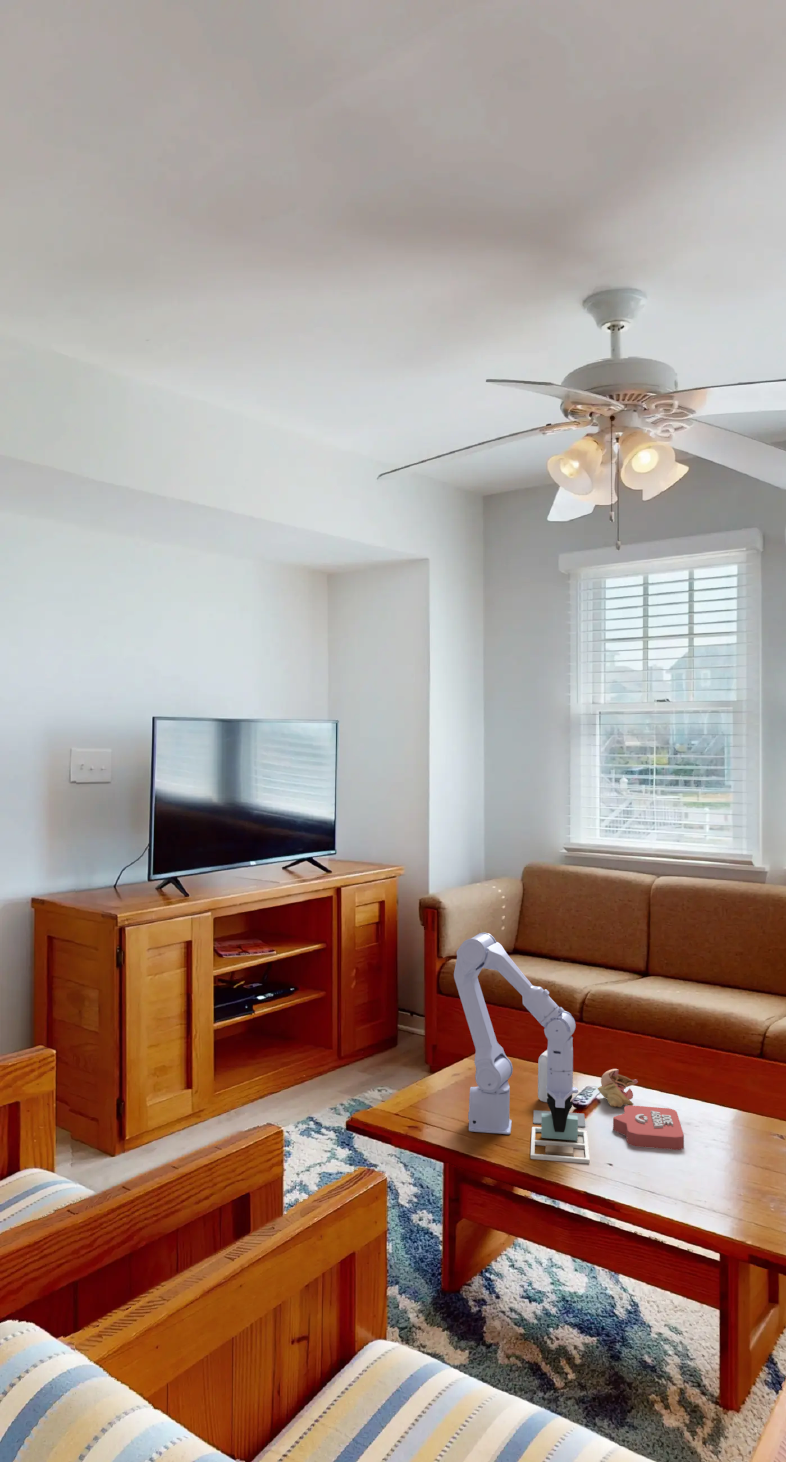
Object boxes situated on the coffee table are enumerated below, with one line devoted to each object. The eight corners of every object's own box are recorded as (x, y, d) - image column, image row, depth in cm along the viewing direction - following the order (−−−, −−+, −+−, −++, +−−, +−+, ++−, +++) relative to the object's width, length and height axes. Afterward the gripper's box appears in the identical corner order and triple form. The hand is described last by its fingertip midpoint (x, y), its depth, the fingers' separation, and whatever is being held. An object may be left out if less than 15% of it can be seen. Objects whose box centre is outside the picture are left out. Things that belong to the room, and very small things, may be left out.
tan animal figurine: (633, 1116, 232) (605, 1087, 232) (607, 1123, 239) (580, 1095, 240) (647, 1087, 238) (620, 1059, 238) (622, 1095, 245) (595, 1068, 246)
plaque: (611, 1101, 231) (676, 1106, 228) (611, 1117, 230) (675, 1122, 228) (615, 1129, 213) (684, 1135, 210) (614, 1147, 213) (684, 1153, 210)
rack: (530, 1158, 205) (530, 1155, 205) (532, 1130, 221) (532, 1126, 221) (589, 1163, 203) (589, 1159, 203) (586, 1134, 219) (586, 1130, 219)
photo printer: (559, 1090, 248) (559, 1042, 248) (573, 1094, 244) (573, 1045, 245) (535, 1099, 240) (535, 1050, 241) (549, 1104, 237) (549, 1054, 238)
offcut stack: (545, 1158, 206) (545, 1151, 207) (545, 1151, 210) (545, 1144, 210) (573, 1160, 205) (573, 1153, 205) (573, 1153, 209) (573, 1146, 209)
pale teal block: (541, 1137, 215) (541, 1117, 215) (541, 1133, 217) (541, 1113, 218) (577, 1140, 214) (577, 1119, 214) (577, 1136, 216) (577, 1115, 216)
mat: (533, 1123, 224) (533, 1122, 224) (533, 1111, 232) (533, 1110, 232) (585, 1127, 223) (585, 1126, 223) (584, 1115, 230) (584, 1113, 230)
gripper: (578, 1079, 208) (578, 1143, 208) (577, 1059, 223) (576, 1118, 222) (546, 1077, 209) (545, 1140, 209) (546, 1057, 224) (545, 1116, 223)
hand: (559, 1129), depth 216 cm, fingers closed on pale teal block, 2 cm apart
